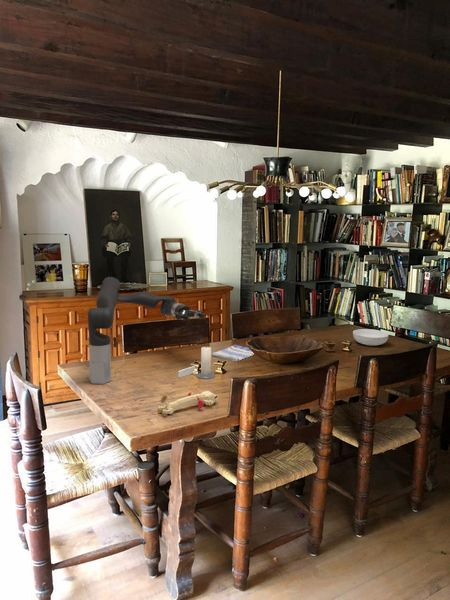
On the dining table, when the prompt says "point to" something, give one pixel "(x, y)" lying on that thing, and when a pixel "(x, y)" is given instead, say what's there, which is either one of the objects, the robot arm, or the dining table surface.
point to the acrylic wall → (186, 371)
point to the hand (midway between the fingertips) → (195, 317)
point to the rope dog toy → (187, 402)
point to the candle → (206, 361)
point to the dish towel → (234, 353)
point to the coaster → (205, 376)
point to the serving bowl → (370, 336)
